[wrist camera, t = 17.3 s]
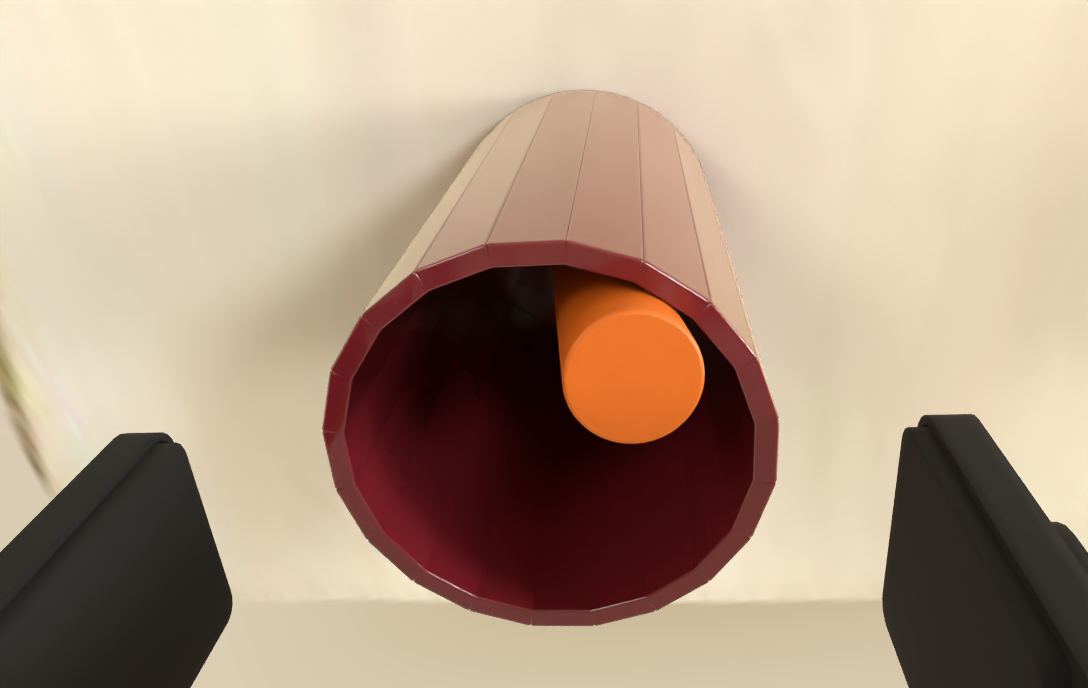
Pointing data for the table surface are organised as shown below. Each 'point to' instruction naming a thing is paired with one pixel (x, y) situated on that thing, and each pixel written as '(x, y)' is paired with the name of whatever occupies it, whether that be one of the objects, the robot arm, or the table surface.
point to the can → (551, 381)
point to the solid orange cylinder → (623, 357)
